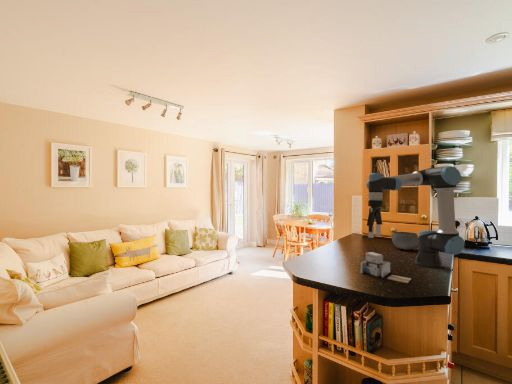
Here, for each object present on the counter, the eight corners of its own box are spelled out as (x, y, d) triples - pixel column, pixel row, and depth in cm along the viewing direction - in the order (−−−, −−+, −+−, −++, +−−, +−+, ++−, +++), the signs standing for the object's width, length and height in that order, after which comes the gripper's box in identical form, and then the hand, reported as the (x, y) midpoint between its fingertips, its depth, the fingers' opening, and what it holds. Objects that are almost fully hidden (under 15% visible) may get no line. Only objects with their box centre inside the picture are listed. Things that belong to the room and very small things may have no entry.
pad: (391, 275, 153) (391, 274, 153) (411, 279, 147) (411, 278, 147) (387, 279, 146) (387, 278, 146) (407, 283, 140) (407, 282, 140)
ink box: (364, 272, 159) (365, 252, 159) (371, 271, 161) (371, 251, 161) (376, 276, 151) (376, 255, 151) (383, 275, 153) (383, 254, 153)
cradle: (368, 268, 168) (368, 258, 168) (390, 272, 160) (390, 262, 160) (360, 273, 157) (360, 262, 157) (383, 277, 149) (383, 266, 149)
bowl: (422, 250, 232) (423, 233, 232) (411, 252, 220) (411, 234, 221) (399, 246, 249) (399, 230, 249) (386, 248, 237) (387, 231, 238)
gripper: (374, 199, 168) (374, 233, 168) (361, 199, 149) (360, 237, 149) (387, 200, 163) (387, 235, 163) (375, 199, 144) (374, 239, 144)
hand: (374, 236), depth 156 cm, fingers open, 13 cm apart
